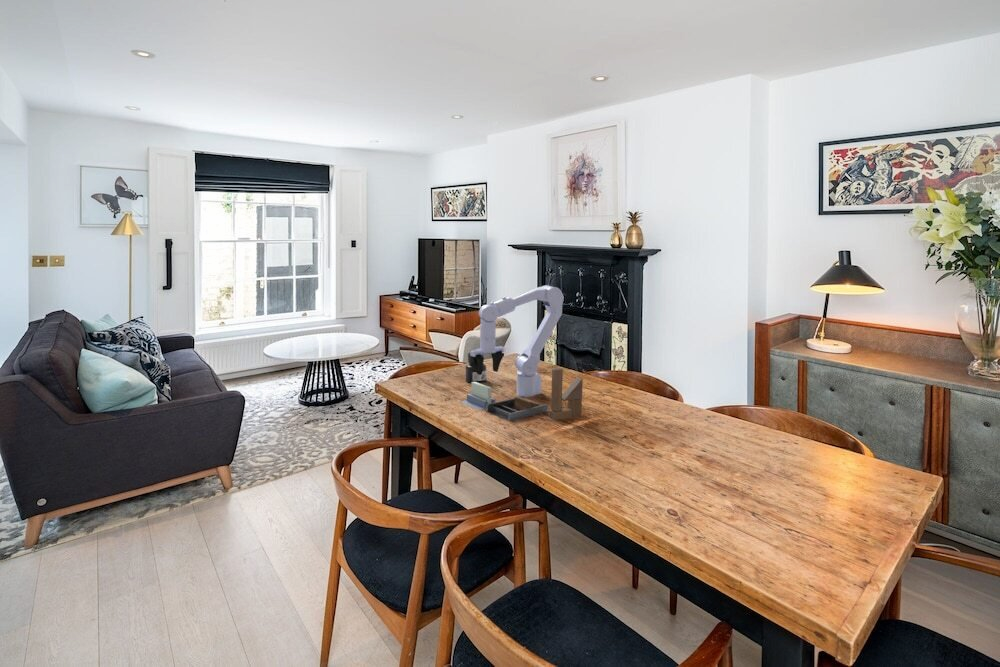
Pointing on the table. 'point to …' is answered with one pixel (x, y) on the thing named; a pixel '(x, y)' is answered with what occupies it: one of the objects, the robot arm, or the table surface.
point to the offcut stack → (524, 403)
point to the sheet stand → (476, 402)
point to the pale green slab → (481, 391)
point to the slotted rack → (513, 410)
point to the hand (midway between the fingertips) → (487, 372)
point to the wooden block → (565, 397)
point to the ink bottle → (474, 371)
